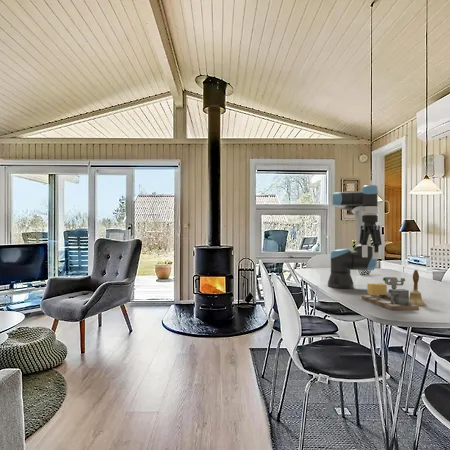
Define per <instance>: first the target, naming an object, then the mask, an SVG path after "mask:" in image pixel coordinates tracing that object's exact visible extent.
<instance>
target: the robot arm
mask: <svg viewBox="0 0 450 450" xmlns="http://www.w3.org/2000/svg"><path fill="white" fill-rule="evenodd" d="M378 192H379V190H378V186H377V185H376V184H367V185H363V186H362V187H361V191H337V192H333V193H332V199H331V200H332V205H333V206H334V207H335V208H337V209H340V210H343V211H344V210H345V211H346V210H347V211H351V212H352V214H353V215H354V227H355V228H354V230H355V232H354V233H355V246H354V247H353V250H351V248H338V249H332V250H331V251H330V273H329V274H330V275H329V277H328V281H327V286H328V287H330V288H336V289H352V288H354V282H353V277H352V275H351V271H374V270H376V268H377V267H376V266H377V260H379V247H380V246H381V245H382V238H381V237H382V236H381V230H380V229H381V226H380V225H379V224H376V223H378V222H379V220H378V217H379V216H378V214H379V211H378V210H379V209H378V207H379V205H378V200H379V199H378V197H379V196H378ZM371 241H372V242H371Z"/></svg>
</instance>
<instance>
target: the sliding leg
mask: <svg viewBox="0 0 450 450" xmlns="http://www.w3.org/2000/svg"><path fill="white" fill-rule="evenodd" d="M387 287H388V285H387V284H385V283H379V282H378V283H367V294H368V295H371V296H376V295H387Z"/></svg>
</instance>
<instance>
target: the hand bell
mask: <svg viewBox="0 0 450 450" xmlns="http://www.w3.org/2000/svg"><path fill="white" fill-rule="evenodd" d="M419 280H420V275H419V271H418V269H415V270H414V271H413V273H412V281H413V290H411V291H410V292H409V302H410V303H411V304H414V305H417V306H425V305H427V304H426V303H425V302H424V299H423V298H422V293H421V292H420V291H419V290H418V288H419V287H418V286H419V285H418V283H419Z"/></svg>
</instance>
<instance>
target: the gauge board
mask: <svg viewBox="0 0 450 450" xmlns="http://www.w3.org/2000/svg"><path fill="white" fill-rule="evenodd" d="M409 291H410V290H408V289H405V288H399V289H398V288H396V289H392V288H390V289H388V294H390V295H373V296H371V295H370V294H368V295H361V300H363V301H366V302H369V303H372V304H374V305H376V304H377V305H376V306H380V307H382V308H384V309H387V310H390V311H410V310H413V311H414V310H415V311H416V310H420V308H419V307H420V305H414V304H411V303H410V302H409V296H410V292H409ZM393 294H394V297H393Z"/></svg>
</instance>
